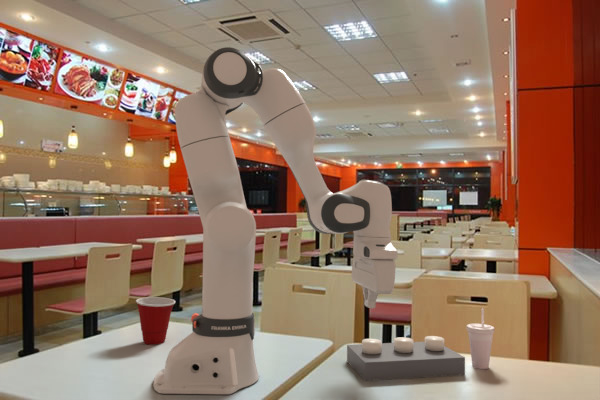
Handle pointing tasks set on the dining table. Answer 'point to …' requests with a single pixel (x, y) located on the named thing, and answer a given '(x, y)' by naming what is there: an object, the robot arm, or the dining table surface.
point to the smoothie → (480, 343)
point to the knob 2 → (434, 343)
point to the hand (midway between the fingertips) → (369, 307)
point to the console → (405, 362)
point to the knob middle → (403, 345)
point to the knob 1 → (371, 346)
